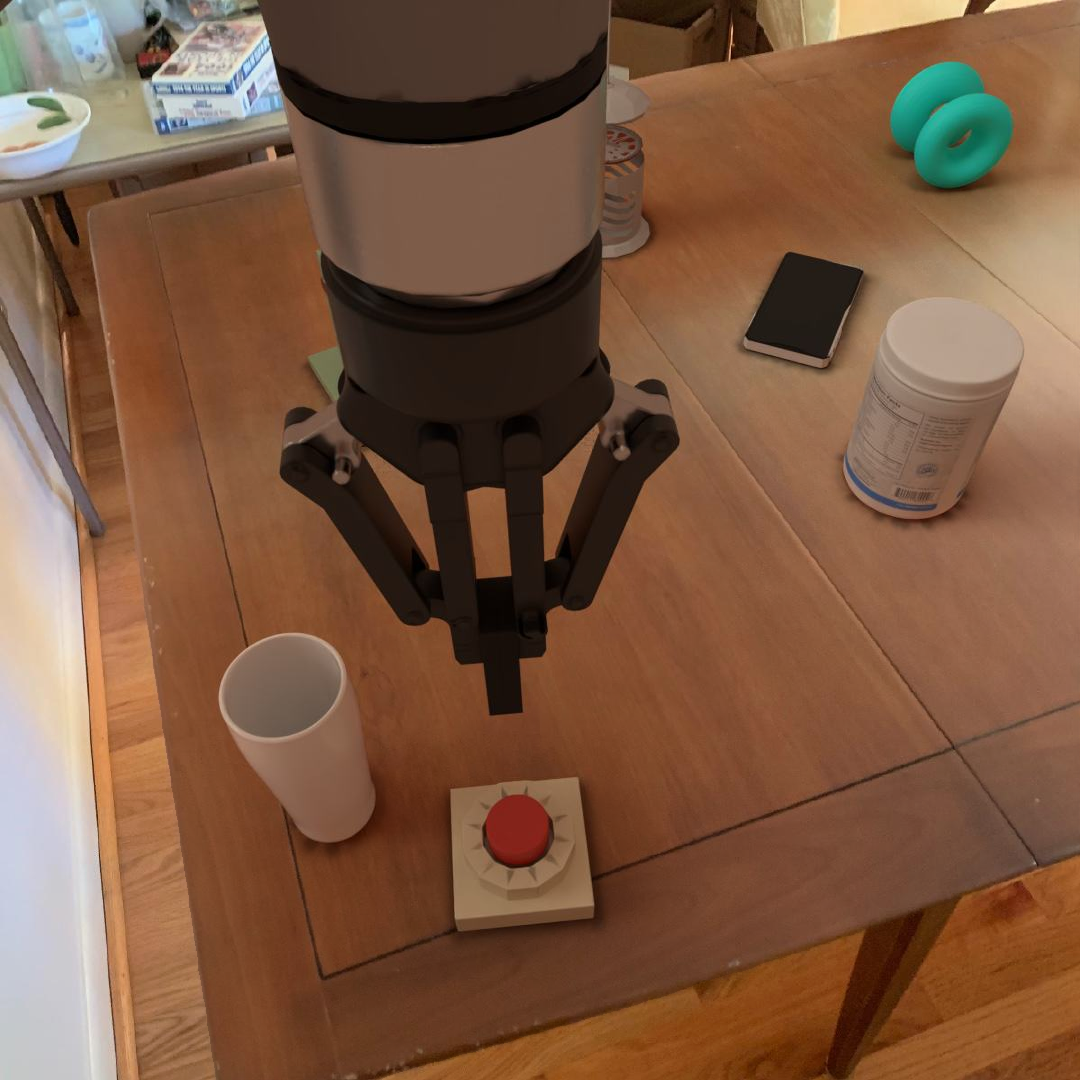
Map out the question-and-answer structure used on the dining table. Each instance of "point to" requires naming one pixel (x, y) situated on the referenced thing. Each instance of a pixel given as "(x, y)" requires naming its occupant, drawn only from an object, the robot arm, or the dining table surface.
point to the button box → (520, 890)
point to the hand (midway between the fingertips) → (504, 687)
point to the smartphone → (804, 310)
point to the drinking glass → (302, 732)
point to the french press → (620, 217)
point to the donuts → (951, 124)
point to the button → (517, 829)
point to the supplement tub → (930, 405)
